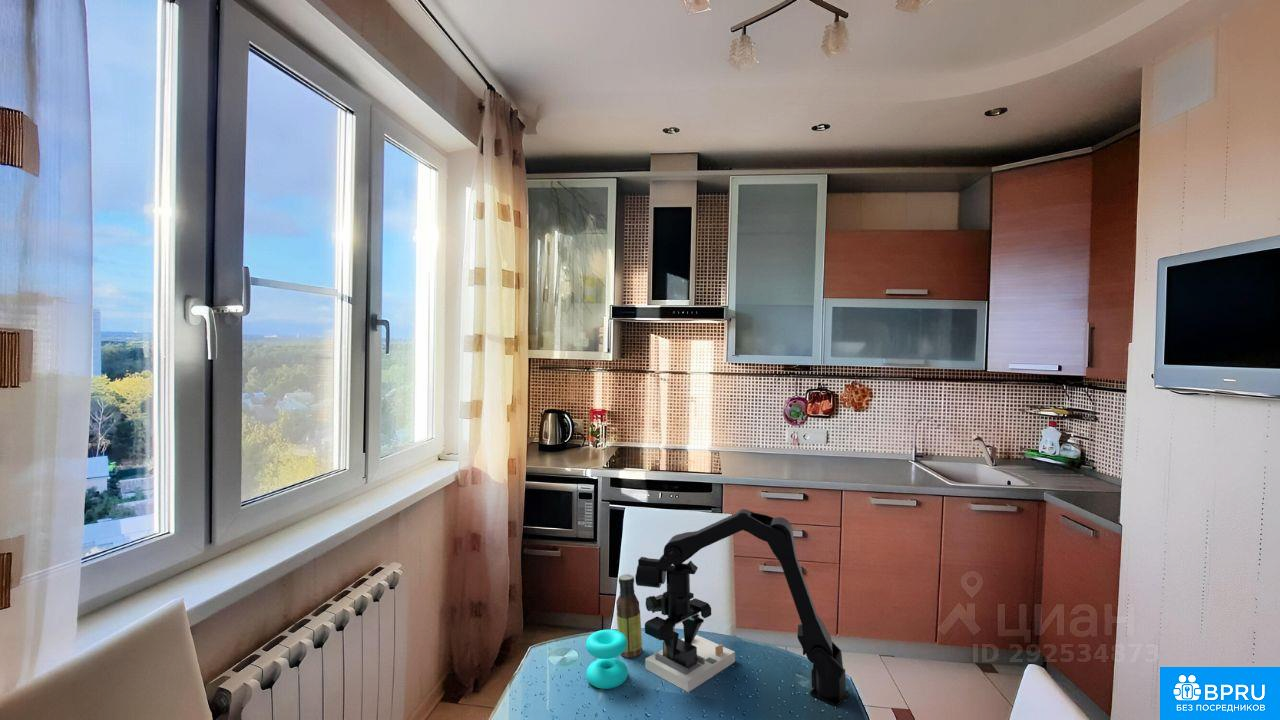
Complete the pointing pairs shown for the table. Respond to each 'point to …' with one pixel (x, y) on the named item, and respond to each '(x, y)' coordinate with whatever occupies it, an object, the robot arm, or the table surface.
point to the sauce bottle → (629, 616)
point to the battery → (683, 654)
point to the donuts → (606, 659)
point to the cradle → (708, 665)
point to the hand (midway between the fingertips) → (679, 653)
